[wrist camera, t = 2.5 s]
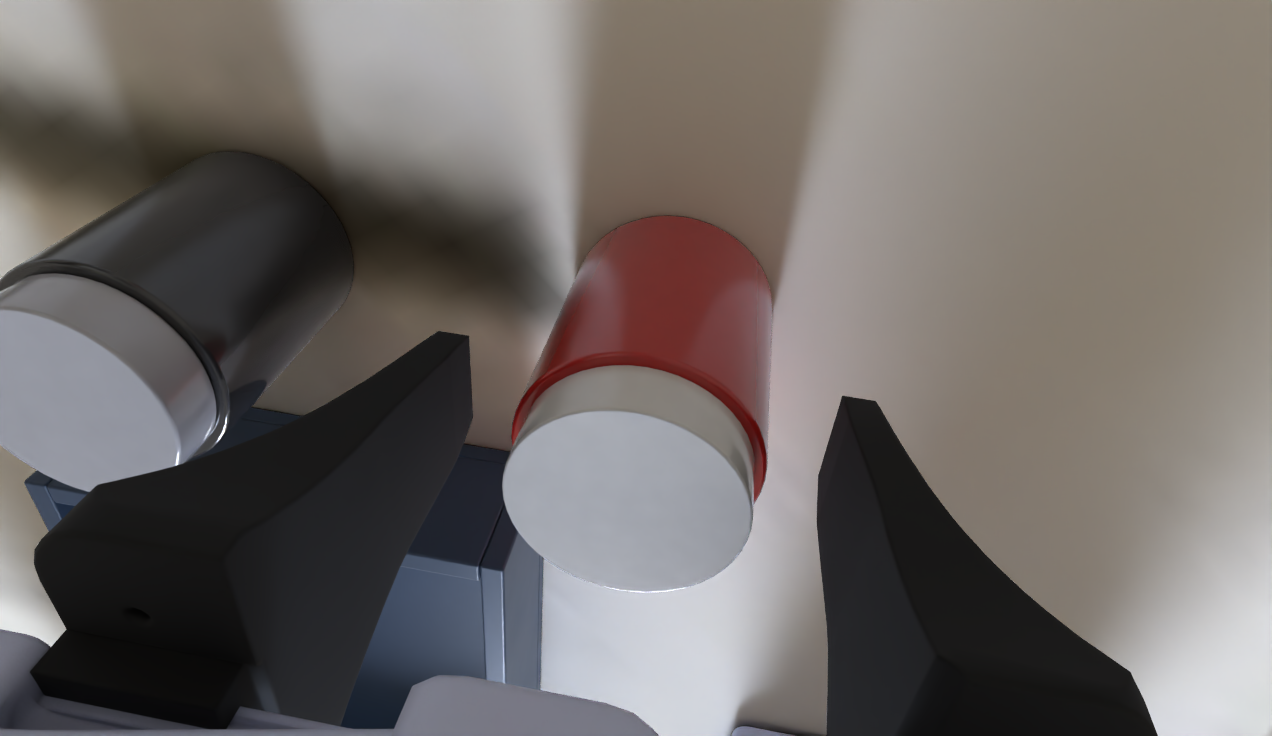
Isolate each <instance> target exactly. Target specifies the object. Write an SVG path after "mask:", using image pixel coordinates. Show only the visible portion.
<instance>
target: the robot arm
mask: <svg viewBox="0 0 1272 736" xmlns="http://www.w3.org/2000/svg"><path fill="white" fill-rule="evenodd" d="M472 418H473V410H472V389H471V368H470V348H469V336H467V335H460V334H454V333H448V332H442V331H438V332H436V333H435V334H433V335H432V336H430V337H429V338H427V339H426V340H424V341H423V342H421V343H420V344H419V345H417V346H416V347H414V348H413V349H411V350H410V351H409V352H407V353H406V354H404V355H403V356H401V357H400V358H398V359H397V360H396V361H394V362H393V363H391V364H390V365H388V366H387V367H385V368H384V369H382V370H381V371H379V372H378V373H376V374H375V375H373V376H372V377H370V378H369V379H367V380H366V381H364V382H362V383H361V384H359V385H357V386H356V387H354V388H352V389H351V390H349V391H347V392H346V393H344V394H342V395H341V396H339V397H337V398H336V399H334V400H332V401H331V402H329V403H327V404H326V405H324V406H322V407H320V408H318V409H316V410H314V411H313V412H311V413H309V414H307V415H305V416H303V417H301V418H299V419H297V420H295V421H292V422H290V423H288V424H286V425H284V426H282V427H280V428H278V429H275V430H273V431H271V432H269V433H266V434H264V435H261V436H259V437H256V438H253V439H251V440H248V441H246V442H243V443H241V444H238V445H236V446H233V447H231V448H228V449H226V450H223V451H220V452H217V453H214V454H211V455H208V456H205V457H202V458H199V459H196V460H193V461H189V462H186V463H183V464H179V465H176V466H173V467H169V468H165V469H162V470H158V471H154V472H150V473H146V474H141V475H137V476H133V477H129V478H125V479H120V480H116V481H112V482H107V483H102V484H98V485H96V486H95V487H94V488H93V489H92V490H91V491H90V492H89V493H88V494H87V495H86V496H85V497H84V498H83V499H82V500H81V501H80V502H79V503H78V504H77V505H76V506H75V507H74V508H73V509H72V510H71V511H70V512H69V513H68V514H67V515H66V516H65V517H64V518H63V519H62V520H61V521H59V522H58V523H57V524H56V525H55V526H54V527H53V528H52V529H51V530H50V531H49V532H48V533H47V534H46V535H45V536H44V537H43V538H42V539H41V541H40V542H39V544H38V545H37V547H36V548H35V552H34V565H35V569H36V571H37V574H38V577H39V579H40V582H41V583H42V585H43V587H44V589H45V591H46V593H47V594H48V596H49V598H50V600H51V602H52V603H53V605H54V607H55V609H56V611H57V612H58V614H59V616H60V618H61V620H62V621H63V623H64V625H65V627H66V629H67V630H66V631H65V632H64V633H63V634H62V635H61V636H60V638H59V639H58V640H57V641H56V642H55V643H54V644H53V646H52V647H50V646H49V645H48V644H46V643H45V642H43V641H41V640H40V639H38V638H35V637H33V636H30V635H26V634H21V633H16V632H11V631H6V630H1V629H0V736H658V734H657V733H656V732H655V731H654V730H653V729H652V728H651V727H650V726H649V725H648V724H646V723H645V722H644V721H643V720H641V719H640V718H639V717H638V716H637V715H635V714H634V713H632V712H629V711H627V710H624V709H621V708H618V707H615V706H612V705H609V704H607V703H603V702H598V701H592V700H587V699H582V698H577V697H572V696H567V695H562V694H556V693H551V692H546V691H541V690H536V689H531V688H525V687H520V686H515V685H510V684H505V683H500V682H495V681H489V680H484V679H479V678H474V677H469V676H451V675H438V676H434V677H432V678H430V679H427V680H425V681H423V682H420V683H418V684H416V685H413V686H412V688H411V690H410V692H409V695H408V697H407V699H406V702H405V704H404V707H403V709H402V711H401V714H400V716H399V718H398V721H397V723H396V725H395V728H394V729H350V728H345V727H340V726H341V723H342V720H343V717H344V714H345V711H346V708H347V705H348V702H349V699H350V696H351V693H352V691H353V688H354V685H355V682H356V679H357V677H358V674H359V671H360V668H361V665H362V663H363V660H364V657H365V654H366V652H367V649H368V646H369V644H370V641H371V639H372V636H373V633H374V631H375V628H376V626H377V623H378V620H379V618H380V615H381V612H382V610H383V607H384V605H385V603H386V600H387V598H388V595H389V593H390V590H391V588H392V585H393V583H394V581H395V578H396V576H397V573H398V571H399V568H400V566H401V564H402V562H403V560H404V558H405V556H406V554H407V552H408V550H409V548H410V546H411V544H412V542H413V540H414V539H415V537H416V535H417V533H418V531H419V529H420V528H421V526H422V524H423V522H424V520H425V518H426V517H427V515H428V513H429V511H430V509H431V508H432V506H433V504H434V502H435V500H436V498H437V497H438V495H439V493H440V491H441V489H442V487H443V485H444V484H445V482H446V480H447V478H448V476H449V474H450V472H451V471H452V469H453V467H454V465H455V463H456V461H457V459H458V456H459V454H460V451H461V448H462V446H463V443H464V441H465V438H466V435H467V432H468V430H469V427H470V424H471V421H472ZM817 530H818V541H819V552H820V562H821V572H822V582H823V592H824V602H825V612H826V621H827V638H828V696H827V736H1158V735H1157V733H1156V730H1155V727H1154V725H1153V722H1152V720H1151V717H1150V714H1149V712H1148V709H1147V707H1146V704H1145V701H1144V699H1143V697H1142V695H1141V693H1140V691H1139V689H1138V687H1137V685H1136V683H1135V681H1134V679H1133V677H1132V675H1131V672H1130V671H1128V670H1127V669H1125V668H1124V667H1122V666H1121V665H1120V664H1118V663H1117V662H1115V661H1114V660H1112V659H1111V658H1110V657H1108V656H1107V655H1105V654H1104V653H1102V652H1101V651H1099V650H1098V649H1097V648H1095V647H1094V646H1092V645H1091V644H1089V643H1088V642H1087V641H1085V640H1084V639H1082V638H1081V637H1079V636H1078V635H1077V634H1075V633H1074V632H1073V631H1071V630H1070V629H1069V628H1068V627H1066V626H1065V625H1064V624H1063V623H1061V622H1060V621H1059V620H1058V619H1056V618H1055V617H1054V616H1052V615H1051V614H1050V613H1049V612H1047V611H1046V610H1045V609H1044V608H1043V607H1041V606H1040V605H1039V604H1038V603H1037V602H1036V601H1034V600H1033V599H1032V598H1031V597H1030V596H1028V595H1027V594H1026V593H1025V592H1024V591H1023V590H1022V589H1021V588H1020V587H1019V586H1017V585H1016V584H1015V583H1014V582H1013V581H1012V580H1011V579H1010V578H1009V577H1008V576H1007V575H1006V574H1005V573H1004V572H1002V571H1001V570H1000V569H999V568H998V567H997V566H996V565H995V564H994V563H993V562H992V561H991V560H990V559H989V558H988V557H987V556H986V555H985V554H984V553H983V551H982V550H981V549H980V548H979V547H978V546H977V545H976V544H975V543H974V542H973V540H972V539H971V538H970V537H969V536H968V535H967V534H966V533H965V532H964V531H963V529H962V528H961V527H960V526H959V525H958V524H957V522H956V521H955V520H954V519H953V518H952V516H951V515H950V514H949V512H948V511H947V510H946V509H945V507H944V506H943V505H942V503H941V502H940V501H939V499H938V498H937V497H936V495H935V494H934V493H933V491H932V490H931V488H930V487H929V486H928V484H927V483H926V481H925V480H924V478H923V477H922V475H921V474H920V472H919V471H918V469H917V468H916V466H915V465H914V463H913V462H912V460H911V459H910V457H909V455H908V454H907V452H906V451H905V449H904V447H903V446H902V444H901V443H900V441H899V439H898V438H897V436H896V434H895V433H894V431H893V429H892V428H891V426H890V424H889V422H888V421H887V419H886V417H885V415H884V414H883V412H882V410H881V409H880V407H879V405H878V404H877V403H876V401H872V400H866V399H859V398H853V397H847V396H842V399H841V402H840V406H839V409H838V412H837V416H836V419H835V422H834V426H833V429H832V432H831V435H830V439H829V442H828V445H827V449H826V452H825V455H824V459H823V462H822V465H821V469H820V472H819V475H818V497H817ZM732 736H795V735H790V734H785V733H780V732H774V731H769V730H764V729H759V728H754V727H748V726H742V727H738V728H736V729H734V731H733V732H732Z"/></svg>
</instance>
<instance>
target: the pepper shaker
mask: <svg viewBox="0 0 1272 736" xmlns="http://www.w3.org/2000/svg"><path fill="white" fill-rule="evenodd" d="M353 270H354V266H353V256H352V251H351V246H350V243H349V240H348V237H347V234H346V232H345V230H344V228H343V226H342V224H341V222H340V221H339V219H338V217H337V216H336V214H335V212H334V211H333V210H332V208H331V207H330V206H329V204H328V203H327V202H326V201H325V199H324V198H323V197H322V196H321V195H320V194H319V193H318V192H317V191H316V190H315V189H314V188H313V187H312V186H310V185H309V184H308V183H307V182H306V181H305V180H303V179H302V178H301V177H299V176H298V175H296V174H295V173H294V172H292V171H290V170H289V169H287V168H285V167H284V166H282V165H280V164H277V163H275V162H273V161H271V160H269V159H266V158H263V157H260V156H257V155H252V154H247V153H241V152H216V153H211V154H207V155H204V156H202V157H199V158H197V159H195V160H193V161H192V162H190V163H188V164H187V165H185V166H183V167H182V168H180V169H178V170H177V171H175V172H173V173H172V174H170V175H168V176H167V177H165V178H163V179H162V180H160V181H158V182H157V183H155V184H153V185H152V186H150V187H148V188H147V189H145V190H143V191H142V192H140V193H138V194H137V195H135V196H133V197H132V198H130V199H128V200H127V201H125V202H123V203H121V204H120V205H118V206H116V207H115V208H113V209H111V210H110V211H108V212H106V213H105V214H103V215H101V216H100V217H98V218H96V219H95V220H93V221H91V222H90V223H88V224H86V225H85V226H83V227H81V228H80V229H78V230H76V231H75V232H73V233H71V234H70V235H68V236H66V237H65V238H63V239H61V240H60V241H58V242H56V243H55V244H53V245H51V246H50V247H48V248H46V249H45V250H43V251H41V252H40V253H38V254H36V255H35V256H33V257H31V258H30V259H28V260H26V261H25V262H23V263H21V264H20V265H18V266H16V267H15V268H13V269H12V270H10V271H9V272H7V273H6V274H5V275H4V276H3V277H2V279H1V280H0V445H1V446H2V447H4V448H5V449H6V450H7V451H9V452H10V453H11V454H13V455H14V456H15V457H17V458H18V459H20V460H21V461H23V462H24V463H26V464H27V465H29V466H30V467H32V468H34V469H36V470H38V471H39V472H41V473H43V474H45V475H47V476H49V477H51V478H53V479H55V480H57V481H59V482H62V483H64V484H67V485H69V486H72V487H75V488H78V489H81V490H84V491H88V492H90V491H91V490H92V489H93V488H94V487H95V486H96V485H98V484H102V483H107V482H112V481H116V480H120V479H125V478H129V477H133V476H137V475H141V474H146V473H150V472H154V471H158V470H162V469H165V468H169V467H173V466H176V465H179V464H183V463H186V462H187V461H188V460H189V459H192V458H195V457H197V456H200V455H202V454H204V453H206V452H208V451H209V450H211V449H213V448H214V447H215V446H216V445H217V444H218V443H219V442H220V441H221V440H222V439H223V438H224V437H225V436H226V435H227V433H228V432H229V431H230V430H231V429H232V428H233V427H234V426H235V424H236V423H237V422H238V421H239V420H240V419H241V418H242V417H243V415H244V414H245V413H246V412H247V411H248V410H249V409H250V408H251V407H252V405H253V404H254V403H255V402H256V401H257V400H258V399H259V398H260V396H261V395H262V394H263V393H264V392H265V391H266V390H267V389H268V388H269V386H270V385H271V384H272V383H273V382H274V381H275V380H276V379H277V377H278V376H279V375H280V374H281V373H282V372H283V371H284V370H285V368H286V367H287V366H288V365H289V364H290V363H291V362H292V361H293V360H294V358H295V357H296V356H297V355H298V354H299V353H300V352H301V351H302V349H303V348H304V347H305V346H306V345H307V344H308V343H309V342H310V340H311V339H312V338H313V337H314V336H315V335H316V334H317V333H318V332H319V330H320V329H321V328H322V327H323V326H324V325H325V324H326V323H327V321H328V320H329V319H330V318H331V317H332V316H333V315H334V314H335V312H336V311H337V310H338V309H339V308H340V307H341V306H342V304H343V303H344V301H345V300H346V298H347V296H348V294H349V292H350V289H351V285H352V281H353Z"/></svg>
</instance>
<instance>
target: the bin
mask: <svg viewBox="0 0 1272 736" xmlns="http://www.w3.org/2000/svg"><path fill="white" fill-rule="evenodd" d="M301 417H302V416H297V415H291V414H285V413H279V412H273V411H268V410H262V409H256V408H250V409H249V410H248V411H247V412H246V413H245V414H244V415H243V417H242V418H241V419H240V420H239V421H238V422H237V423H236V424H235V426H234V427H233V428H232V429H231V430H230V431H229V432H228V433H227V435H226V436H225V437H224V438H223V439H222V440H221V441H220V442H219V443H218V444H217V445H216V446H215V447H214V448H213V449H211V450H209V451H208V452H206V453H204V454H202V455H200V456H197V457H195V458H192V459H189V460H188V461H187V462H189V461H193V460H196V459H199V458H202V457H205V456H208V455H211V454H214V453H217V452H220V451H223V450H226V449H228V448H231V447H233V446H236V445H238V444H241V443H243V442H246V441H248V440H251V439H253V438H256V437H259V436H261V435H264V434H266V433H269V432H271V431H273V430H275V429H278V428H280V427H282V426H284V425H286V424H288V423H290V422H292V421H295V420H297V419H299V418H301ZM509 454H510V452H506V451H500V450H494V449H488V448H483V447H477V446H471V445H465V444H463V446H462V448H461V451H460V454H459V456H458V459H457V461H456V463H455V465H454V467H453V469H452V471H451V472H450V474H449V476H448V478H447V480H446V482H445V484H444V485H443V487H442V489H441V491H440V493H439V495H438V497H437V498H436V500H435V502H434V504H433V506H432V508H431V509H430V511H429V513H428V515H427V517H426V518H425V520H424V522H423V524H422V526H421V528H420V529H419V531H418V533H417V535H416V537H415V539H414V540H413V542H412V544H411V546H410V548H409V550H408V552H407V554H406V556H405V558H404V560H403V562H402V564H401V566H400V568H399V571H398V573H397V576H396V578H395V581H394V583H393V585H392V588H391V590H390V593H389V595H388V598H387V600H386V603H385V605H384V607H383V610H382V612H381V615H380V618H379V620H378V623H377V626H376V628H375V631H374V633H373V636H372V639H371V641H370V644H369V646H368V649H367V652H366V654H365V657H364V660H363V663H362V665H361V668H360V671H359V674H358V677H357V679H356V682H355V685H354V688H353V691H352V693H351V696H350V699H349V702H348V705H347V708H346V711H345V714H344V717H343V720H342V723H341V726H340V727H345V728H350V729H394V728H395V725H396V723H397V721H398V718H399V716H400V714H401V711H402V709H403V707H404V704H405V702H406V699H407V697H408V695H409V692H410V690H411V688H412V686H413V685H416V684H418V683H420V682H423V681H425V680H427V679H430V678H432V677H434V676H438V675H451V676H469V677H474V678H479V679H484V680H489V681H495V682H500V683H505V684H510V685H515V686H520V687H525V688H531V689H536V690H540V672H541V629H542V587H543V557H542V556H540V555H539V554H538V553H537V552H536V551H535V550H534V549H533V548H532V547H531V546H530V545H529V544H527V542H526V541H525V540H524V539H523V537H522V536H521V535H520V534H519V533H518V531H517V529H516V528H515V526H514V525H513V523H512V521H511V519H510V517H509V514H508V512H507V510H506V506H505V503H504V499H503V490H502V478H503V471H504V467H505V463H506V461H507V458H508V456H509ZM24 484H25V486H26V488H27V490H28V492H29V494H30V495H31V497H32V499H33V501H34V503H35V505H36V507H37V509H38V511H39V513H40V515H41V517H42V519H43V521H44V523H45V525H46V527H47V529H48V531H50V530H51V529H52V528H53V527H54V526H55V525H56V524H57V523H58V522H59V521H61V520H62V519H63V518H64V517H65V516H66V515H67V514H68V513H69V512H70V511H71V510H72V509H73V508H74V507H75V506H76V505H77V504H78V503H79V502H80V501H81V500H82V499H83V498H84V497H85V496H86V495H87V494H88V493H89V492H88V491H84V490H81V489H78V488H75V487H72V486H69V485H67V484H64V483H62V482H59V481H57V480H55V479H53V478H51V477H49V476H47V475H45V474H43V473H41V472H39V471H38V470H37V471H35V472H34V473H33V474H32V475H31V476H30V477H29V478H28V479H26V480H25V482H24Z"/></svg>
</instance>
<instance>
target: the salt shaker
mask: <svg viewBox="0 0 1272 736" xmlns="http://www.w3.org/2000/svg"><path fill="white" fill-rule="evenodd" d="M772 314H773V310H772V296H771V290H770V287H769V284H768V281H767V278H766V276H765V274H764V272H763V270H762V268H761V266H760V264H759V263H758V262H757V260H756V259H755V257H754V256H753V255H752V254H751V253H750V251H749V250H748V249H747V248H746V247H745V246H744V245H743V244H741V243H740V242H739V241H738V240H737V239H735V238H734V237H733V236H731V235H730V234H728V233H726V232H725V231H723V230H721V229H719V228H717V227H715V226H713V225H711V224H708V223H706V222H703V221H700V220H696V219H691V218H687V217H679V216H655V217H649V218H643V219H639V220H636V221H632V222H629V223H627V224H625V225H623V226H620V227H618V228H616V229H615V230H613V231H612V232H610V233H608V234H607V235H606V236H604V237H603V238H602V239H601V240H600V241H598V242H597V243H596V245H595V246H594V247H593V248H592V249H591V250H590V251H589V253H588V254H587V256H586V258H585V259H584V261H583V263H582V265H581V267H580V269H579V272H578V274H577V276H576V278H575V280H574V283H573V285H572V287H571V289H570V291H569V294H568V296H567V298H566V300H565V303H564V305H563V307H562V309H561V311H560V314H559V316H558V318H557V320H556V322H555V325H554V327H553V329H552V331H551V334H550V336H549V338H548V340H547V342H546V345H545V347H544V349H543V351H542V353H541V356H540V358H539V360H538V362H537V364H536V367H535V369H534V371H533V373H532V376H531V378H530V380H529V382H528V384H527V387H526V389H525V391H524V393H523V395H522V398H521V400H520V402H519V404H518V407H517V409H516V411H515V414H514V418H513V422H512V432H511V439H512V449H511V451H510V454H509V456H508V458H507V461H506V463H505V467H504V471H503V478H502V490H503V499H504V503H505V506H506V510H507V512H508V514H509V517H510V519H511V521H512V523H513V525H514V526H515V528H516V529H517V531H518V533H519V534H520V535H521V536H522V537H523V539H524V540H525V541H526V542H527V544H529V545H530V546H531V547H532V548H533V549H534V550H535V551H536V552H537V553H538V554H539V555H540V556H542V557H543V558H544V559H546V560H547V561H548V562H550V563H551V564H553V565H554V566H556V567H557V568H559V569H561V570H562V571H564V572H566V573H568V574H570V575H572V576H574V577H577V578H579V579H581V580H584V581H586V582H589V583H592V584H595V585H599V586H602V587H606V588H611V589H615V590H622V591H629V592H644V593H648V592H665V591H672V590H678V589H682V588H686V587H690V586H693V585H695V584H698V583H701V582H703V581H705V580H707V579H709V578H711V577H713V576H715V575H716V574H718V573H719V572H721V571H722V570H724V569H725V568H726V567H727V566H728V565H729V564H731V563H732V562H733V561H734V559H735V558H736V557H737V556H738V555H739V553H740V552H741V551H742V549H743V547H744V545H745V544H746V542H747V540H748V537H749V534H750V531H751V527H752V520H753V507H754V503H755V502H756V500H757V498H758V496H759V495H760V493H761V491H762V488H763V485H764V482H765V478H766V472H767V459H768V430H769V401H770V372H771V343H772Z"/></svg>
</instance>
